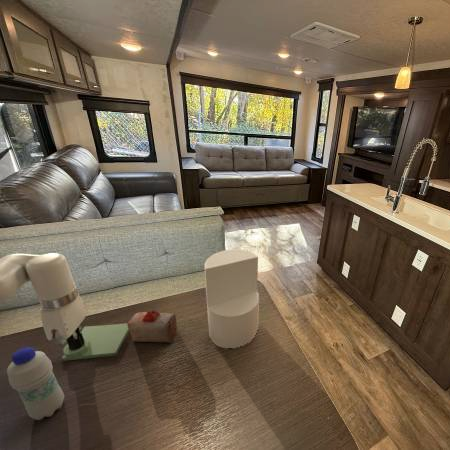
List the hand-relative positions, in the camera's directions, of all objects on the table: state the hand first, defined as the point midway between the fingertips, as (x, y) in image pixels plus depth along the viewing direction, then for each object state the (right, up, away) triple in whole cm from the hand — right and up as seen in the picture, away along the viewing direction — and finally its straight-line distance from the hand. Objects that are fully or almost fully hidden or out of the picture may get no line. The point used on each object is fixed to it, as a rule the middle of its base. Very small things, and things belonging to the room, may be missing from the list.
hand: (77, 345), depth 74 cm
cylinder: (+43, -1, +15) cm, 46 cm away
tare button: (0, -1, +1) cm, 2 cm away
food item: (+18, -1, +9) cm, 20 cm away
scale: (+3, -1, +5) cm, 6 cm away
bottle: (+5, -10, -13) cm, 17 cm away
